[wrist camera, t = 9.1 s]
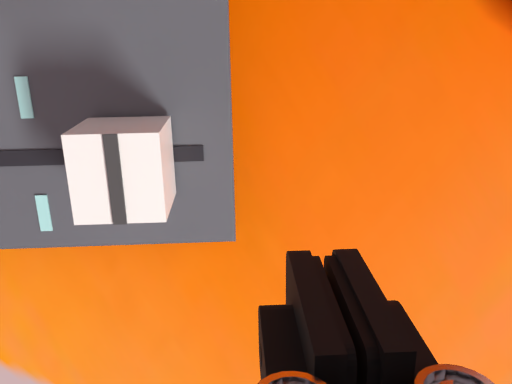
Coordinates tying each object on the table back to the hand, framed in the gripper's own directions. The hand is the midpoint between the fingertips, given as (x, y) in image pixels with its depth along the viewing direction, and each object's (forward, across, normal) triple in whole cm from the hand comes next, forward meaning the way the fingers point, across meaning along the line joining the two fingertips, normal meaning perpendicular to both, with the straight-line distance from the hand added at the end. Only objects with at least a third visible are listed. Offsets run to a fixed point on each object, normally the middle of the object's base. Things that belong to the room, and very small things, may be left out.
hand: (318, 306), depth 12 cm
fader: (+14, +7, 0) cm, 15 cm away
